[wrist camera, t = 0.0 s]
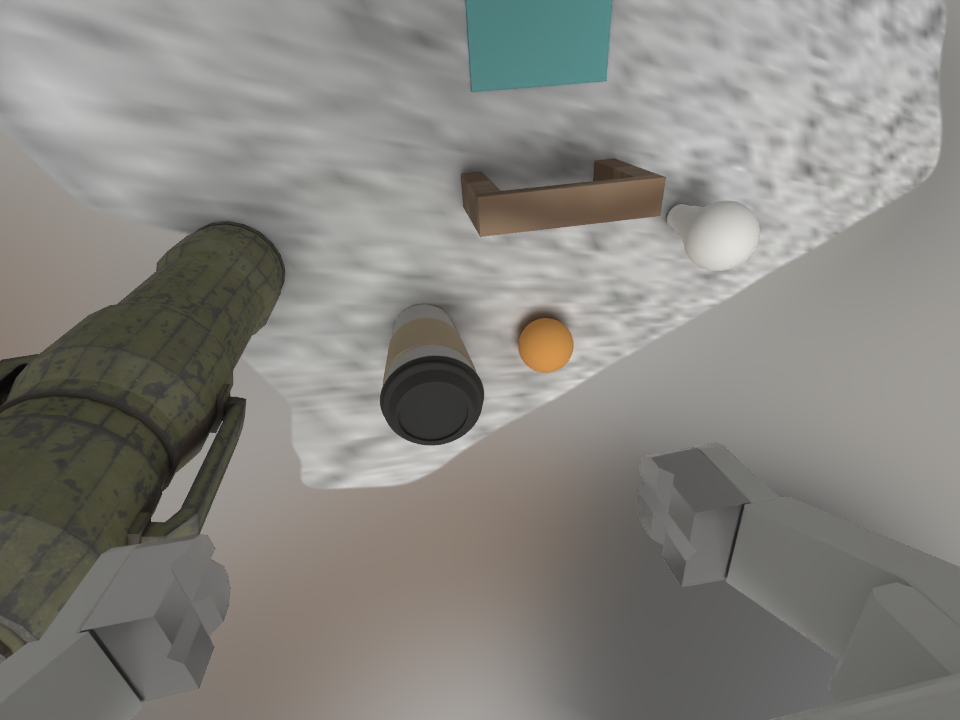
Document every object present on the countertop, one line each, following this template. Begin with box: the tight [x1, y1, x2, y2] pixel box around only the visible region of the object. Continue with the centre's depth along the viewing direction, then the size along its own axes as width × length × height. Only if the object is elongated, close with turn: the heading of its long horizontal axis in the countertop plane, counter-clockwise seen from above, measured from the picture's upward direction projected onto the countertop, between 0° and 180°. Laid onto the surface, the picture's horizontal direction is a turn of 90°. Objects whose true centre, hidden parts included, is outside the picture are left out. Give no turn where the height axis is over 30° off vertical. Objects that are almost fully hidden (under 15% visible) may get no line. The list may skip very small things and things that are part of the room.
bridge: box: [461, 159, 666, 237], centre depth 40 cm, size 3×15×10 cm, turn 94°
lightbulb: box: [667, 201, 760, 271], centre depth 43 cm, size 6×6×11 cm
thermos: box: [0, 222, 285, 663], centre depth 29 cm, size 9×12×35 cm
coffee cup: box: [380, 304, 484, 445], centre depth 44 cm, size 9×9×15 cm
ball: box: [518, 318, 573, 373], centre depth 50 cm, size 6×6×6 cm
